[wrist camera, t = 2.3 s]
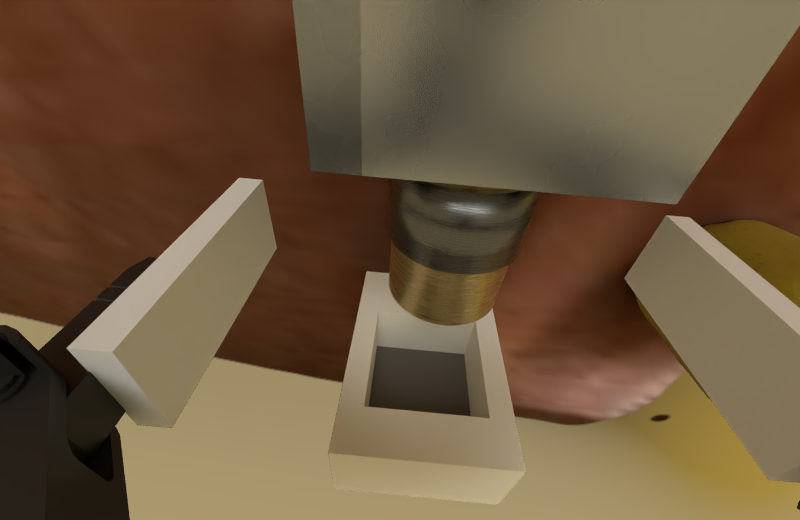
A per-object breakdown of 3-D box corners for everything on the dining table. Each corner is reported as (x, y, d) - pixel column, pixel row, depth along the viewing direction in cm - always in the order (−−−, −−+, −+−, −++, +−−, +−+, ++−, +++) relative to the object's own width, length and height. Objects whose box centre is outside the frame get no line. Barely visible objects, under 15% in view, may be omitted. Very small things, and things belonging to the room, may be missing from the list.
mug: (611, 353, 26) (742, 471, 17) (606, 231, 23) (766, 291, 13) (767, 315, 26) (992, 414, 16) (786, 185, 22) (1082, 214, 13)
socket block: (366, 271, 25) (328, 452, 15) (487, 282, 25) (525, 471, 15) (366, 315, 28) (334, 489, 18) (473, 325, 28) (497, 504, 18)
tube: (429, -434, 7) (436, -1155, 2) (698, -413, 7) (1166, -1099, 2) (389, 243, 17) (378, 323, 13) (491, 252, 17) (511, 335, 13)
